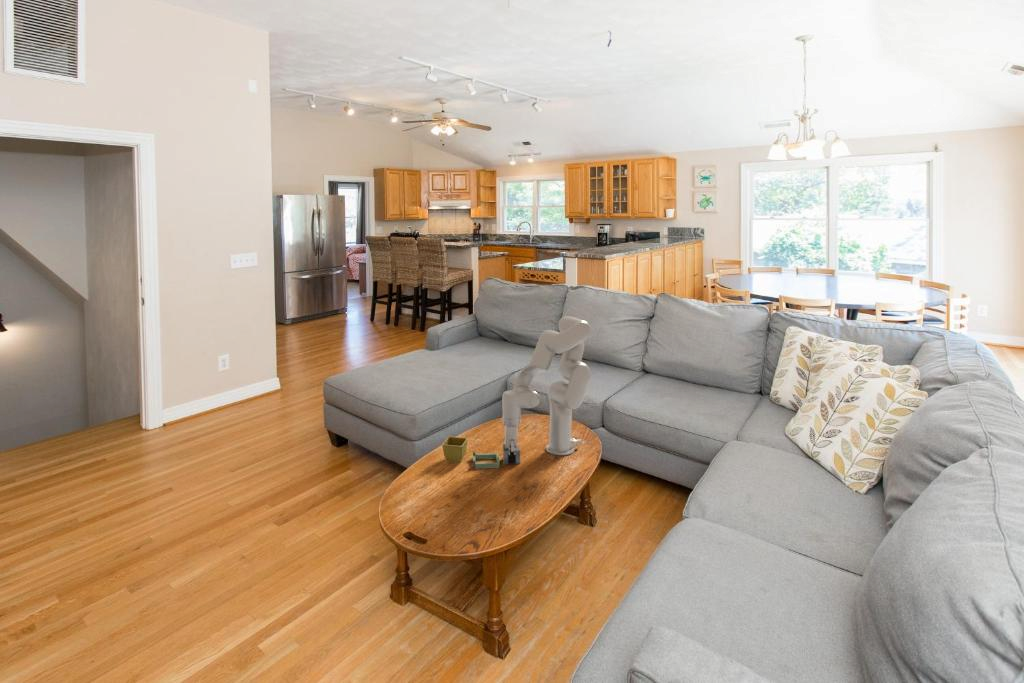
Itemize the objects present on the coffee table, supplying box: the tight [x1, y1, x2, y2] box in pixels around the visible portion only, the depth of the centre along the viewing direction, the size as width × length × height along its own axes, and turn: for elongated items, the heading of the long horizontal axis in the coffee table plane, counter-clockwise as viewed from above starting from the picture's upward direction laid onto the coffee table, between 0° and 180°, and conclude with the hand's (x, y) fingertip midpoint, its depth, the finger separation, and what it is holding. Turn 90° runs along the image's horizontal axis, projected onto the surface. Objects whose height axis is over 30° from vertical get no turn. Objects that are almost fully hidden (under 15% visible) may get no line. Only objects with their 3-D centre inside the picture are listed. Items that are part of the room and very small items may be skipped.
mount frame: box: [472, 451, 501, 470], centre depth 241 cm, size 11×10×3 cm
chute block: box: [502, 443, 521, 465], centre depth 242 cm, size 7×5×7 cm
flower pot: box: [442, 436, 468, 464], centre depth 242 cm, size 9×9×9 cm
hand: (511, 459), depth 242 cm, fingers closed on chute block, 5 cm apart
